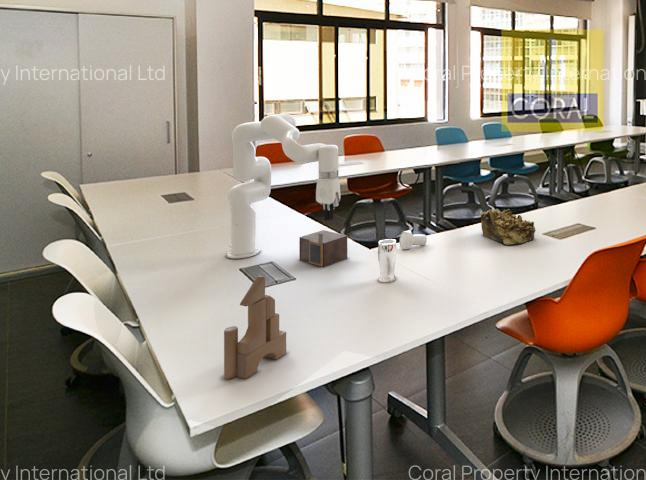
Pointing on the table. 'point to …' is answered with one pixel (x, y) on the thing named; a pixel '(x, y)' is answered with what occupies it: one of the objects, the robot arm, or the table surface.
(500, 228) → the mineral
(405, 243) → the spotlight
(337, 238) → the cabinet
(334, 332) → the table surface
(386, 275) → the beer glass
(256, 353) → the wooden toy
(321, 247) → the sliding door
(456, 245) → the table surface
